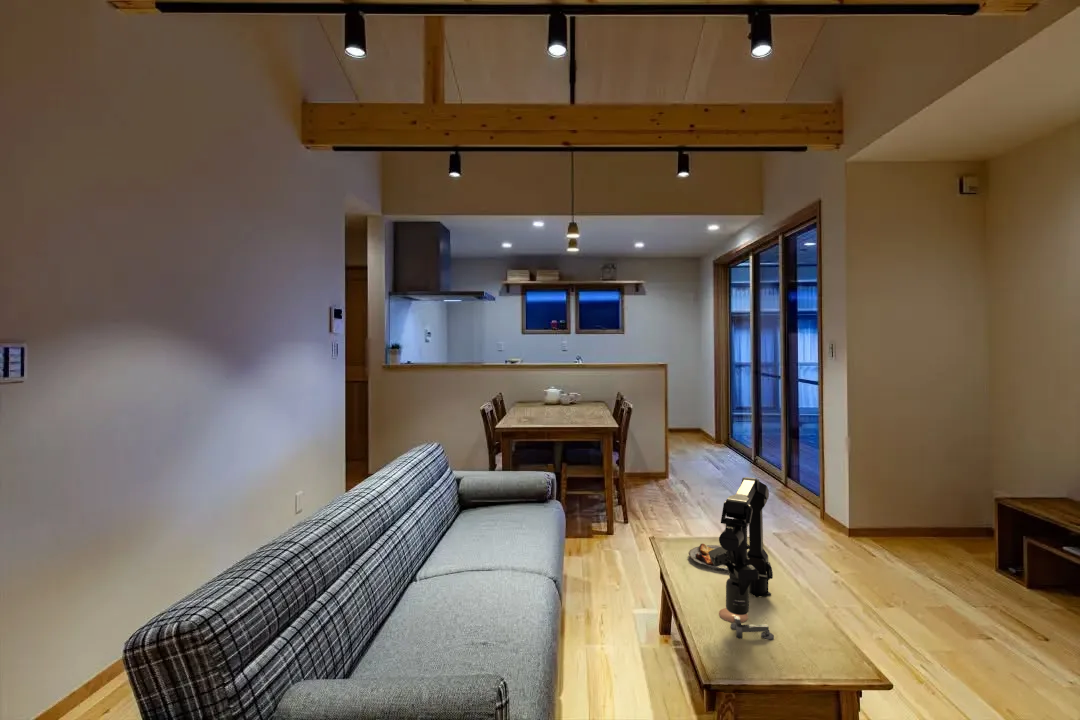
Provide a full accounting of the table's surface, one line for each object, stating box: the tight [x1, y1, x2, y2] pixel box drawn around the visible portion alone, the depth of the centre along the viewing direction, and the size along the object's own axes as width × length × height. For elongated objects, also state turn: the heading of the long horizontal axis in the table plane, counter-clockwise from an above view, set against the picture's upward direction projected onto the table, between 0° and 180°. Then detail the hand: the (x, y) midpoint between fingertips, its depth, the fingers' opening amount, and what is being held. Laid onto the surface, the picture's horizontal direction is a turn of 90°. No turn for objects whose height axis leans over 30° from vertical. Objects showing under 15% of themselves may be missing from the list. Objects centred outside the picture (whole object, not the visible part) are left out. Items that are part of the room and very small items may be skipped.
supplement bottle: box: [725, 569, 750, 615], centre depth 172 cm, size 7×7×12 cm
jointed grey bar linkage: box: [730, 616, 775, 641], centre depth 171 cm, size 11×11×4 cm
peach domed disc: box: [718, 607, 749, 624], centre depth 181 cm, size 9×9×1 cm
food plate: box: [688, 543, 728, 571], centre depth 226 cm, size 25×23×4 cm
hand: (737, 589), depth 172 cm, fingers closed on supplement bottle, 7 cm apart
